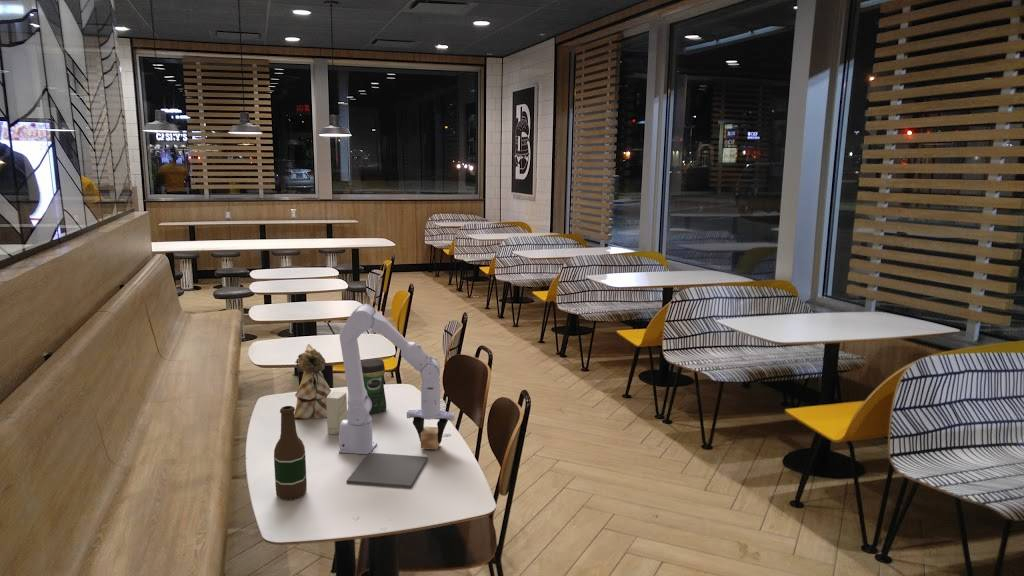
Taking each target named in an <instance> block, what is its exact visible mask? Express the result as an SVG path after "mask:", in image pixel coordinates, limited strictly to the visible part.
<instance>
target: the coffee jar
mask: <svg viewBox="0 0 1024 576" xmlns="http://www.w3.org/2000/svg"><path fill="white" fill-rule="evenodd" d="M360 360H361V359H360ZM361 367H362V373H363V380H364V386H365V389H366V390H367V395H368V397H369V398H370V400H371V402H372V408H371V410H370V411H369V414H372V415H373V414H378V413H382V412H385V410H387V400H386V399H387V398H386V393H385V386H384V375H385V372H386V366H385V363H384V360H383V359H382V358H381V357H378V358H377V357H376V358H370V359H362V360H361Z"/></svg>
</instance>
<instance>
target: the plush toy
mask: <svg viewBox="0 0 1024 576" xmlns="http://www.w3.org/2000/svg"><path fill="white" fill-rule="evenodd" d="M295 363H296V365H295V367H296V369H297V372H298V373H299V372H303V374H302V376H301V381H300V384H299V387H298V388H297V391H296V393H295V394H294V396H295V397H296V398H297V399H296V404H295V411H294V416H295V419H301V420H302V419H303V420H305V419H306V420H307V419H309V420H310V419H321V418H322V419H324V418H327V405H326V397H328V396H329V395H331V392H332V390H331V387H330V386H329V384H328V383H327V381H326V379H325V377H324V374H323V373H322V371H324V370H325V369H326V368H325V365H326V364H327V362H326V360H325V357H323V355H322V354H321V352H320V351H318V350H316V348H313V347H312V345H311V344H309V343H308V344H307V346H306V347H305V350H304V352H303V353H300V354H299V355H298V356H297V359H296V360H295Z"/></svg>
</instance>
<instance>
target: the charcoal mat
mask: <svg viewBox="0 0 1024 576" xmlns="http://www.w3.org/2000/svg"><path fill="white" fill-rule="evenodd" d="M365 455H366V456H365V457H364V458H363V459H362V460H361V462H360V463H359V464H358V465H357V467H356V468H355V469H354V470H353V472H351V474H350V476H349V477H348V478H347V479H346V484H351V483H352V484H353V485H365V486H380V487H391V488H394V487H395V488H404V489H405V488H406V489H412V487H413V485H414V484H415V482H416V480H417V479H418V477H419V475H420V474H421V472H422V471H423V468H424V467H423V466H425V464H426V463H427V461H428V460H427V459H429V458H428V456H420V455H408V454H395V453H394V454H393V453H392V454H391V453H380V452H370V453H368V454H365Z"/></svg>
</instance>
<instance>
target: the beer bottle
mask: <svg viewBox="0 0 1024 576" xmlns="http://www.w3.org/2000/svg"><path fill="white" fill-rule="evenodd" d="M295 409H296V407H295V406H292V405H285V406H282V407H281V408H280V410H279V413H280V436H279V439H278V441H277V442H276V444H275V447H274V450H273V463H274V465H273V466H274V481H275V482H274V483H275V494H276V496H277V497H278V498H279V499H280V500H281V501H296V500H297V499H300V498H302V497H304V496H305V494H306V492H307V484H308V483H307V480H308V479H307V463H306V447H305V445H304V443H303V442H304V441H303V440H302V439H301V438H300V437H299V435H298V433H297V425H296V418H295V416H294V414H295Z"/></svg>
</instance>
